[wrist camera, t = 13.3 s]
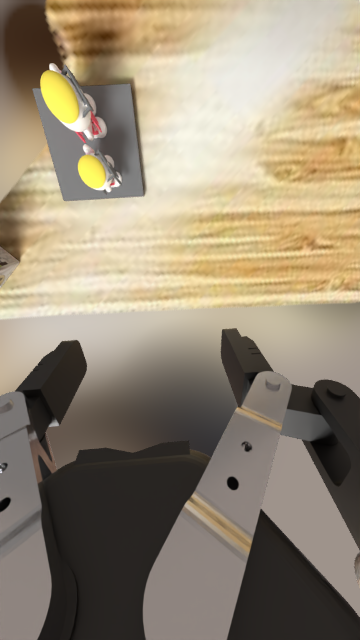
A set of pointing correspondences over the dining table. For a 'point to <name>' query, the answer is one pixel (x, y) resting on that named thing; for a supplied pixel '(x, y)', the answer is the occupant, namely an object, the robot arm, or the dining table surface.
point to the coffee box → (6, 265)
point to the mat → (96, 143)
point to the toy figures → (80, 125)
